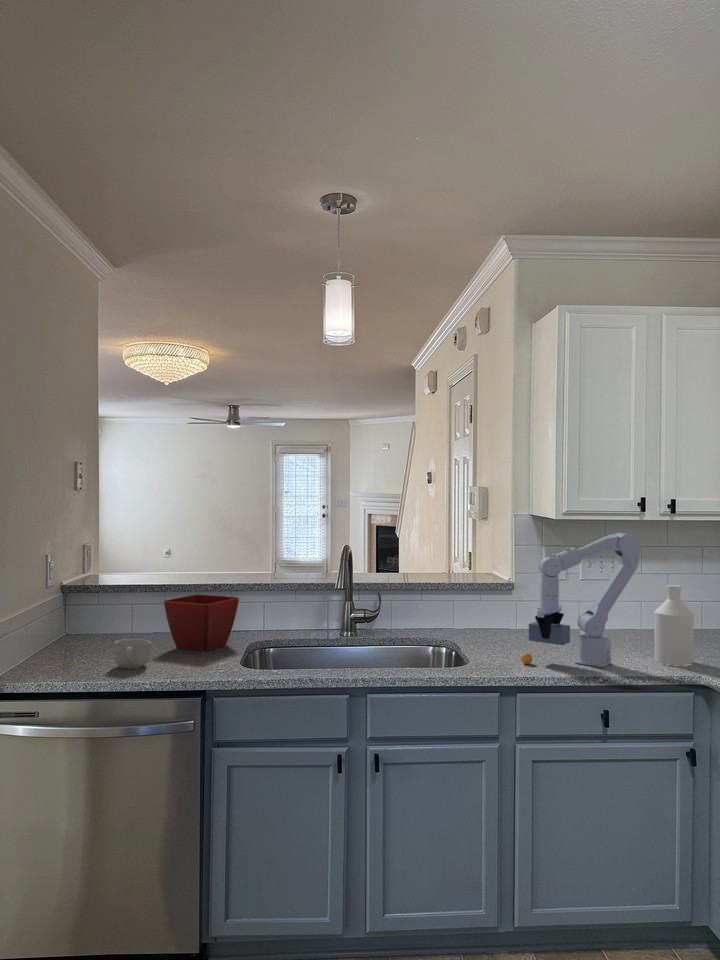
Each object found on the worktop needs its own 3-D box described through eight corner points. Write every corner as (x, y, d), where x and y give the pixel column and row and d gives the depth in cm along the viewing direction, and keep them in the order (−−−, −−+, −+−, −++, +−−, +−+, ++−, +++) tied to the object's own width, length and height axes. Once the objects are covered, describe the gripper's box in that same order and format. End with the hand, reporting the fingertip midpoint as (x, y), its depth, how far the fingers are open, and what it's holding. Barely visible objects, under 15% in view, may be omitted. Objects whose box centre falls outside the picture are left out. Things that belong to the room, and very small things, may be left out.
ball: (534, 663, 241) (534, 652, 241) (529, 665, 238) (529, 654, 238) (523, 662, 243) (523, 651, 243) (518, 664, 240) (519, 652, 240)
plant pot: (196, 639, 276) (196, 593, 276) (239, 644, 268) (240, 597, 268) (162, 649, 258) (162, 600, 258) (207, 655, 250) (207, 604, 250)
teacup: (121, 662, 239) (121, 637, 239) (155, 663, 239) (155, 637, 239) (105, 673, 225) (105, 646, 225) (140, 674, 225) (141, 647, 225)
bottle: (694, 668, 237) (695, 588, 237) (654, 664, 241) (654, 586, 241) (692, 659, 248) (692, 584, 248) (653, 656, 252) (654, 582, 252)
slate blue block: (569, 642, 241) (570, 625, 241) (562, 645, 237) (562, 628, 237) (536, 637, 248) (536, 621, 248) (528, 640, 244) (528, 623, 244)
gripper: (547, 591, 251) (547, 631, 251) (528, 596, 239) (528, 638, 239) (567, 593, 246) (567, 634, 246) (549, 598, 235) (549, 641, 235)
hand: (549, 636), depth 243 cm, fingers closed on slate blue block, 6 cm apart
